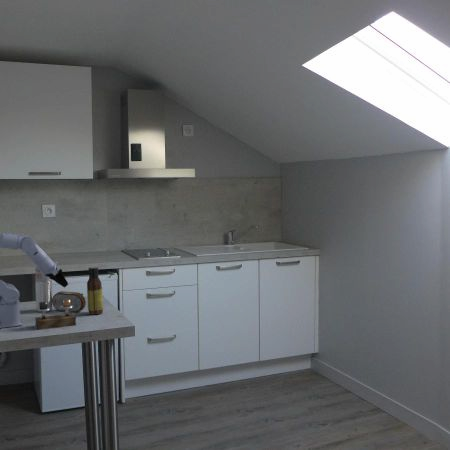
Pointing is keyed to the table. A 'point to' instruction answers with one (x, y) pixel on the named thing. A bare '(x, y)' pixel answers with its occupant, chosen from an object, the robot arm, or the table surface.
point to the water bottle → (43, 288)
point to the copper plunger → (66, 306)
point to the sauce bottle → (94, 292)
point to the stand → (55, 321)
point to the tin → (75, 298)
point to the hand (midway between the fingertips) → (64, 284)
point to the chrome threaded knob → (43, 308)
